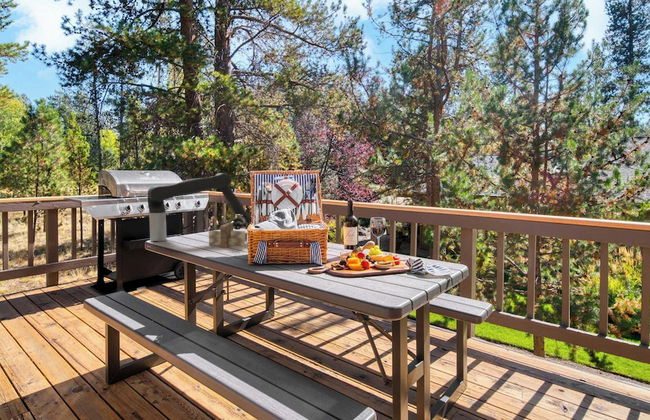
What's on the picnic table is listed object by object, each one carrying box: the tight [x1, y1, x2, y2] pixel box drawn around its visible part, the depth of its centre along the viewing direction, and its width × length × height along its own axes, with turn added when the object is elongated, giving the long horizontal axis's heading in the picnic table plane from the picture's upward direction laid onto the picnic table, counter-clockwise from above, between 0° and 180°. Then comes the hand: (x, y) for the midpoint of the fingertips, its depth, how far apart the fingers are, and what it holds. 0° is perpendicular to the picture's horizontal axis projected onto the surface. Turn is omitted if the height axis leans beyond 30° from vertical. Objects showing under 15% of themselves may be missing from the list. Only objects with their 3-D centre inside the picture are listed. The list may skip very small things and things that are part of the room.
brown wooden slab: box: [219, 221, 234, 249], centre depth 241 cm, size 18×3×12 cm, turn 0°
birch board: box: [208, 230, 246, 246], centre depth 241 cm, size 20×2×8 cm, turn 89°
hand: (232, 226), depth 256 cm, fingers open, 8 cm apart
